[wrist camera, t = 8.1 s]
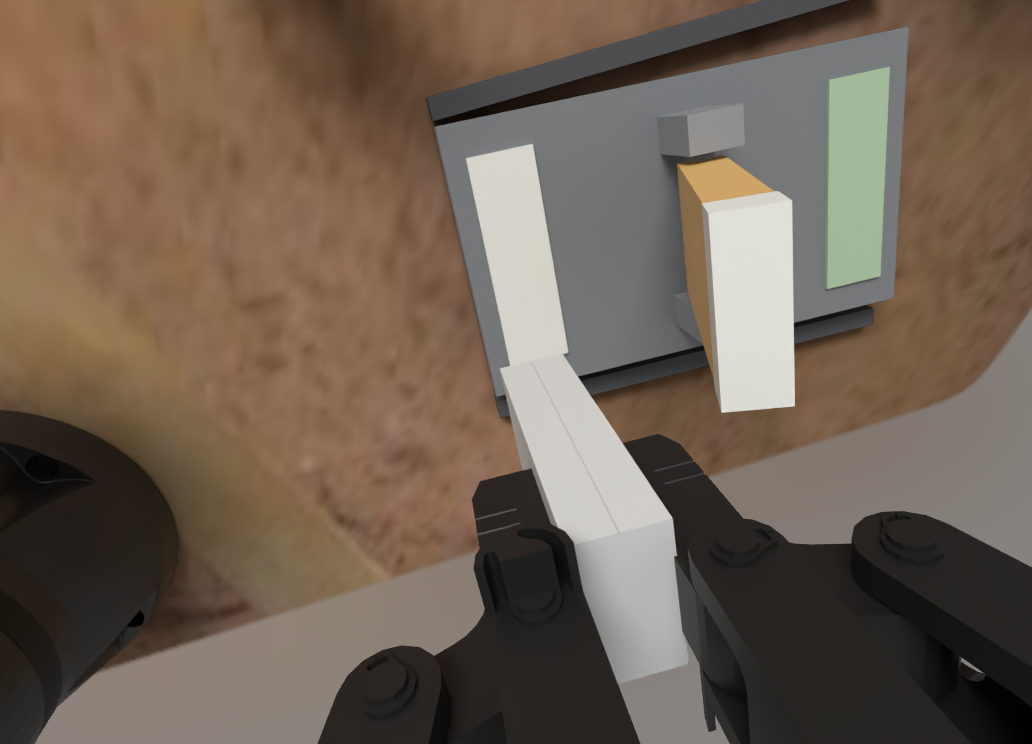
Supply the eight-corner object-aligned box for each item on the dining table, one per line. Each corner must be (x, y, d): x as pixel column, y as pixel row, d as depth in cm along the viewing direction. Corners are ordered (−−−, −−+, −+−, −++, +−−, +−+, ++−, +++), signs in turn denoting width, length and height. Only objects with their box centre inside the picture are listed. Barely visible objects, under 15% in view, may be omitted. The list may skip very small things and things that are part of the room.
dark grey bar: (432, 121, 28) (433, 121, 27) (425, 98, 28) (426, 97, 27) (872, -7, 29) (886, -11, 28) (871, -31, 29) (886, -36, 28)
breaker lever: (685, 292, 30) (722, 416, 19) (674, 157, 28) (708, 208, 16) (730, 286, 30) (794, 410, 18) (722, 148, 27) (792, 194, 16)
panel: (490, 378, 33) (506, 424, 28) (432, 126, 28) (438, 126, 23) (861, 287, 35) (941, 314, 30) (870, 34, 30) (967, 14, 25)
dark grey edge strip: (497, 410, 34) (500, 418, 33) (494, 394, 34) (496, 401, 33) (860, 319, 36) (872, 324, 35) (861, 303, 36) (873, 307, 35)
